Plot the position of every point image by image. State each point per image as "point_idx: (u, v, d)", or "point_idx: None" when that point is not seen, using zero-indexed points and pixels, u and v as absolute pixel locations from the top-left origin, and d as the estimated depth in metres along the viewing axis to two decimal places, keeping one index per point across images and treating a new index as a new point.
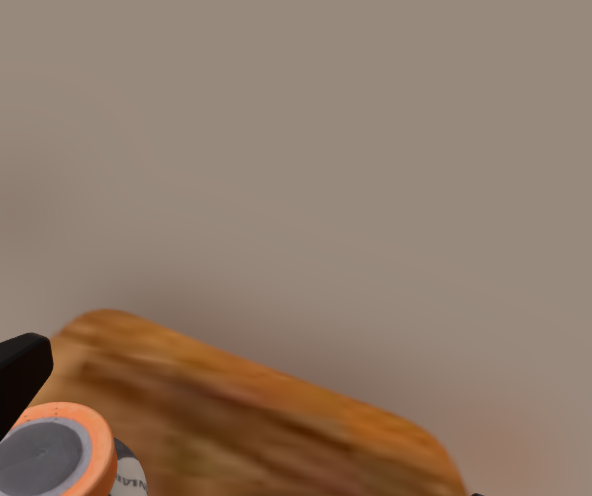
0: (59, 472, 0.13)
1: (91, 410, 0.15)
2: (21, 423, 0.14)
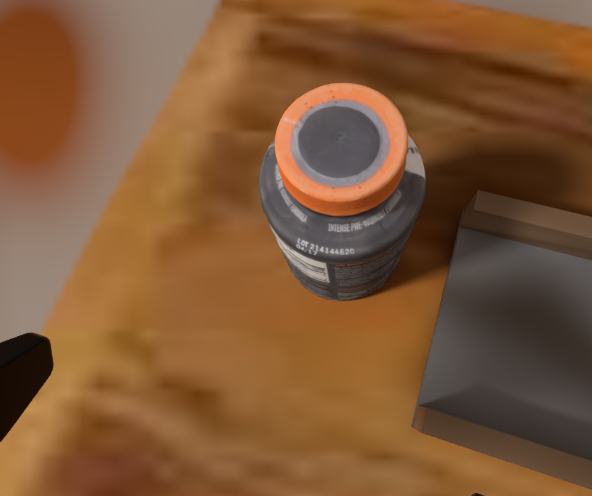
0: (367, 152, 0.13)
1: (366, 88, 0.14)
2: (306, 111, 0.14)
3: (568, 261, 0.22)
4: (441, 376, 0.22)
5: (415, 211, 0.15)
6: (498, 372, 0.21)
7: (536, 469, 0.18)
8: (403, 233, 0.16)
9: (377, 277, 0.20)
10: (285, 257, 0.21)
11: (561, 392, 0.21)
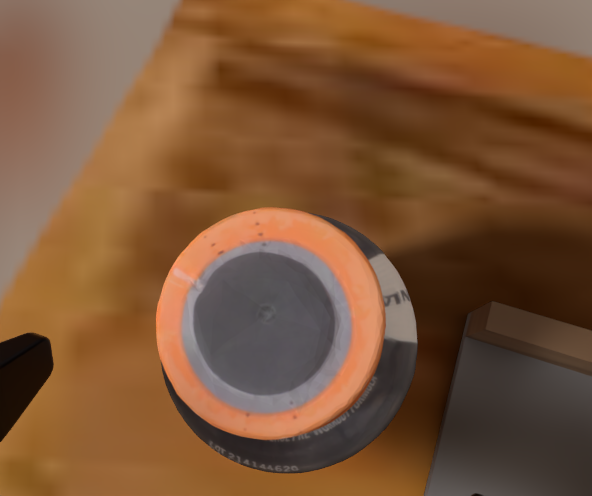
0: (310, 349, 0.07)
1: (317, 220, 0.08)
2: (212, 259, 0.08)
3: None
4: None
5: (399, 401, 0.10)
6: None
7: None
8: (379, 433, 0.10)
9: None
10: None
11: None
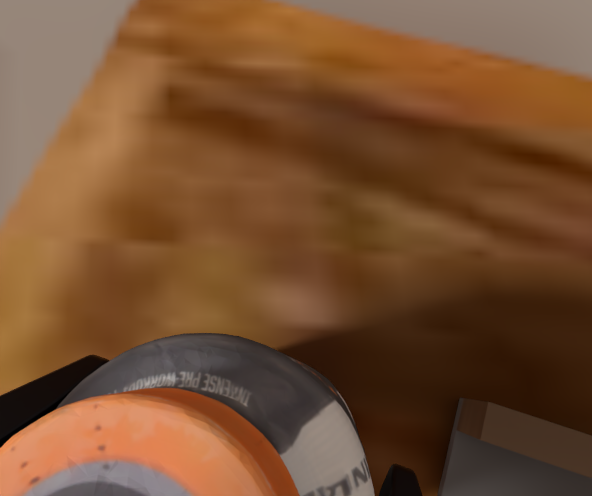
0: None
1: (195, 425, 0.05)
2: (19, 495, 0.05)
3: None
4: None
5: None
6: None
7: None
8: None
9: None
10: None
11: None
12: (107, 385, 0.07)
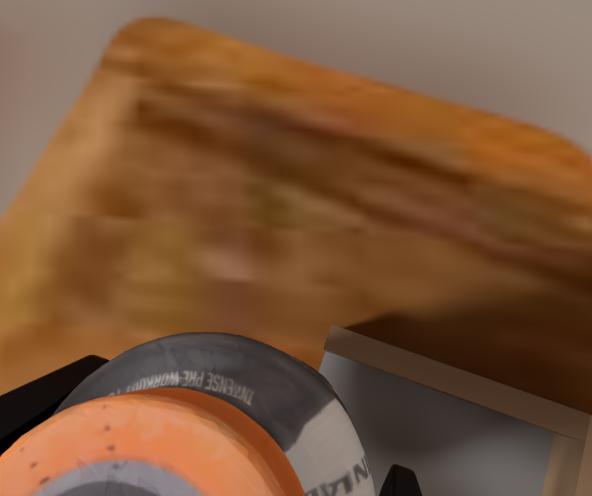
0: None
1: (204, 425, 0.05)
2: (29, 495, 0.05)
3: (440, 400, 0.20)
4: None
5: None
6: None
7: None
8: None
9: None
10: None
11: None
12: (110, 384, 0.07)
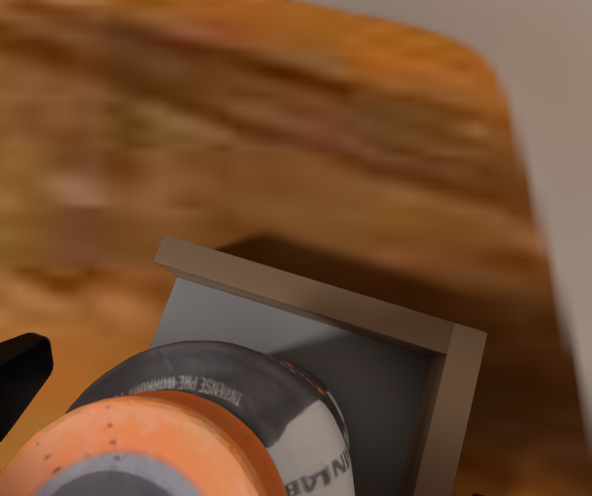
0: None
1: (192, 422, 0.06)
2: (44, 482, 0.06)
3: (303, 326, 0.17)
4: None
5: None
6: None
7: None
8: None
9: None
10: None
11: None
12: (114, 388, 0.08)
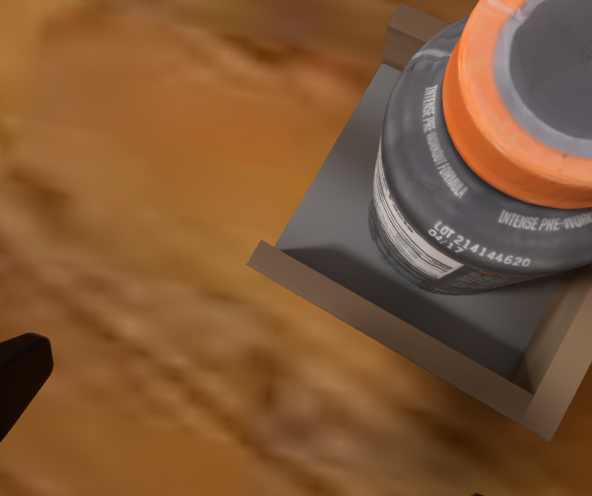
0: None
1: None
2: None
3: None
4: (307, 225, 0.18)
5: None
6: None
7: (360, 329, 0.15)
8: None
9: None
10: (376, 224, 0.15)
11: None
12: None
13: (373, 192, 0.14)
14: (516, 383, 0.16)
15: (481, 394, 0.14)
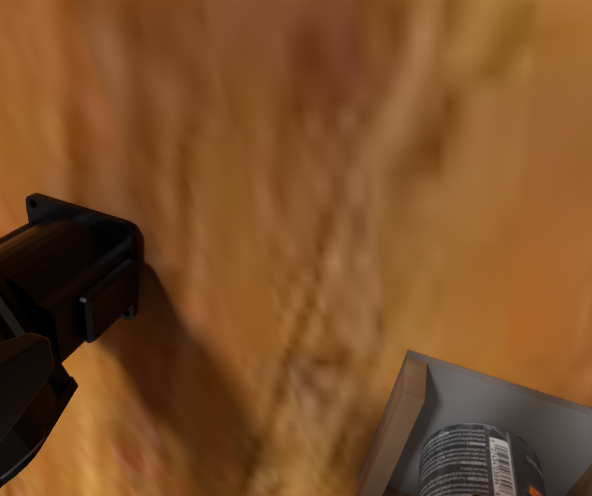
0: None
1: None
2: None
3: (561, 489, 0.24)
4: (453, 383, 0.23)
5: None
6: (457, 421, 0.24)
7: (379, 454, 0.23)
8: None
9: None
10: (449, 479, 0.21)
11: None
12: None
13: None
14: None
15: None
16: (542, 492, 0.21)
